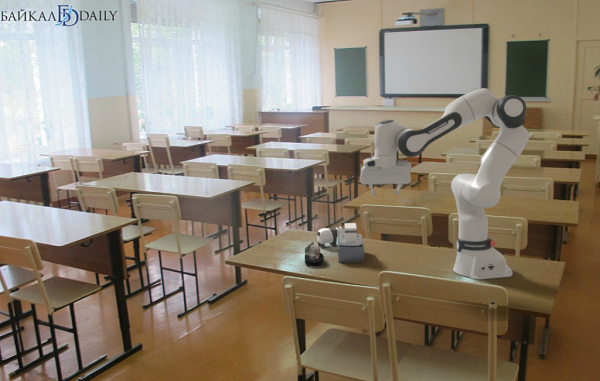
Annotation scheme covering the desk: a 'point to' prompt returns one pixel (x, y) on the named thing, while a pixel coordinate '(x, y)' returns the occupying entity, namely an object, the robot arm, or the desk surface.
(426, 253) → the desk surface
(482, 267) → the robot arm
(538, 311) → the desk surface
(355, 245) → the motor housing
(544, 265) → the desk surface
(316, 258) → the black based translucent ornament
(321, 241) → the giant panda
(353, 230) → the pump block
